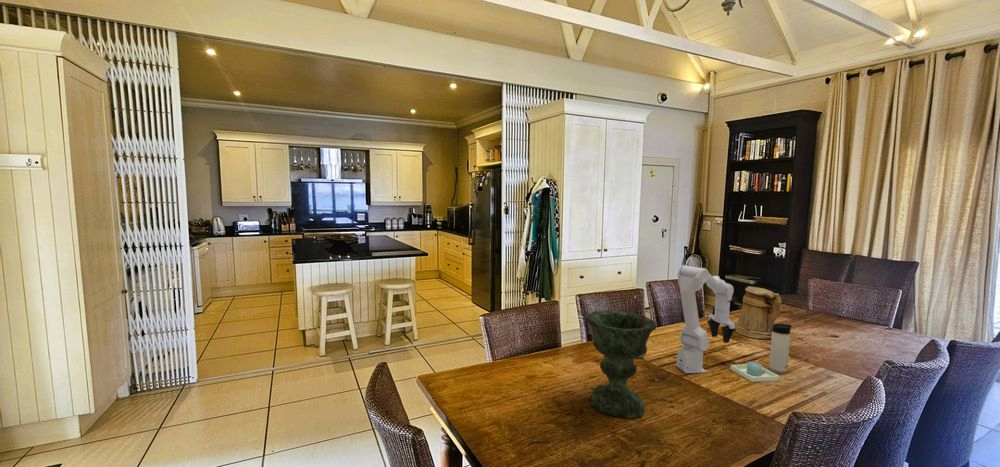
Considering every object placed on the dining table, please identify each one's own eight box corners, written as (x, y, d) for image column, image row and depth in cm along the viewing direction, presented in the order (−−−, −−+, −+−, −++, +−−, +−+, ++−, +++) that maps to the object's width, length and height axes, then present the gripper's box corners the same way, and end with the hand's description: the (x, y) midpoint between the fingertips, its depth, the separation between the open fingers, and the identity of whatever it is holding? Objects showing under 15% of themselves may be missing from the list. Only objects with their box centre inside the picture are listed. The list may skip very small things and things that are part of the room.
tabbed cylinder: (753, 377, 162) (754, 367, 162) (743, 371, 167) (744, 362, 167) (768, 376, 163) (769, 366, 163) (758, 370, 168) (758, 361, 168)
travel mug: (791, 374, 166) (794, 327, 165) (773, 372, 168) (776, 325, 166) (783, 368, 173) (787, 322, 171) (766, 367, 174) (770, 321, 172)
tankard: (752, 327, 229) (756, 284, 227) (793, 342, 207) (797, 293, 205) (727, 330, 224) (730, 285, 222) (765, 344, 202) (769, 295, 200)
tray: (751, 382, 158) (752, 377, 158) (730, 369, 170) (730, 365, 170) (779, 381, 160) (779, 376, 160) (755, 368, 172) (756, 363, 172)
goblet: (604, 426, 125) (608, 331, 123) (572, 392, 147) (575, 311, 144) (665, 417, 131) (670, 327, 128) (626, 386, 153) (629, 308, 150)
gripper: (742, 314, 172) (740, 345, 173) (719, 305, 186) (717, 333, 187) (727, 314, 171) (725, 345, 172) (705, 305, 185) (703, 334, 186)
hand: (720, 339), depth 180 cm, fingers open, 7 cm apart
